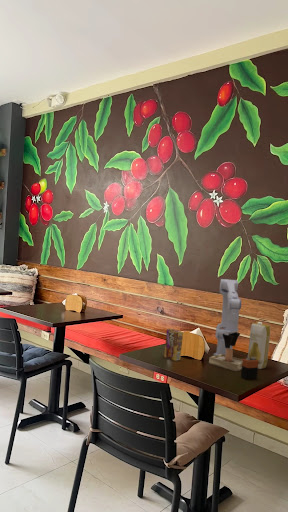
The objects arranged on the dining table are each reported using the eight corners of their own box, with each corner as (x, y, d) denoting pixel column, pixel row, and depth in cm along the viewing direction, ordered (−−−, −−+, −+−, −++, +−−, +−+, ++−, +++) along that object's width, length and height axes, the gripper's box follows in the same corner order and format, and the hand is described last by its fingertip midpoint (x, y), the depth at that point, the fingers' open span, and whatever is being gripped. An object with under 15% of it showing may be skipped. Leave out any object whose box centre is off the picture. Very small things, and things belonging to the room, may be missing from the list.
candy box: (181, 360, 223) (183, 331, 223) (175, 361, 220) (177, 332, 220) (169, 356, 230) (172, 328, 230) (163, 356, 227) (166, 328, 227)
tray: (221, 360, 232) (221, 353, 231) (247, 367, 221) (248, 360, 221) (208, 363, 222) (209, 357, 221) (236, 371, 211) (237, 364, 211)
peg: (226, 363, 224) (227, 348, 224) (232, 364, 222) (234, 349, 222) (223, 364, 221) (225, 349, 221) (229, 365, 219) (231, 350, 219)
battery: (257, 379, 202) (259, 358, 202) (246, 380, 199) (248, 359, 198) (250, 376, 206) (252, 356, 205) (240, 377, 202) (242, 356, 202)
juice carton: (245, 365, 225) (249, 320, 225) (252, 363, 231) (256, 320, 231) (261, 370, 219) (265, 324, 218) (268, 367, 225) (272, 323, 224)
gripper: (230, 318, 229) (228, 343, 230) (220, 321, 217) (217, 347, 217) (242, 321, 226) (240, 346, 226) (233, 323, 213) (230, 350, 214)
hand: (230, 347), depth 221 cm, fingers open, 7 cm apart
